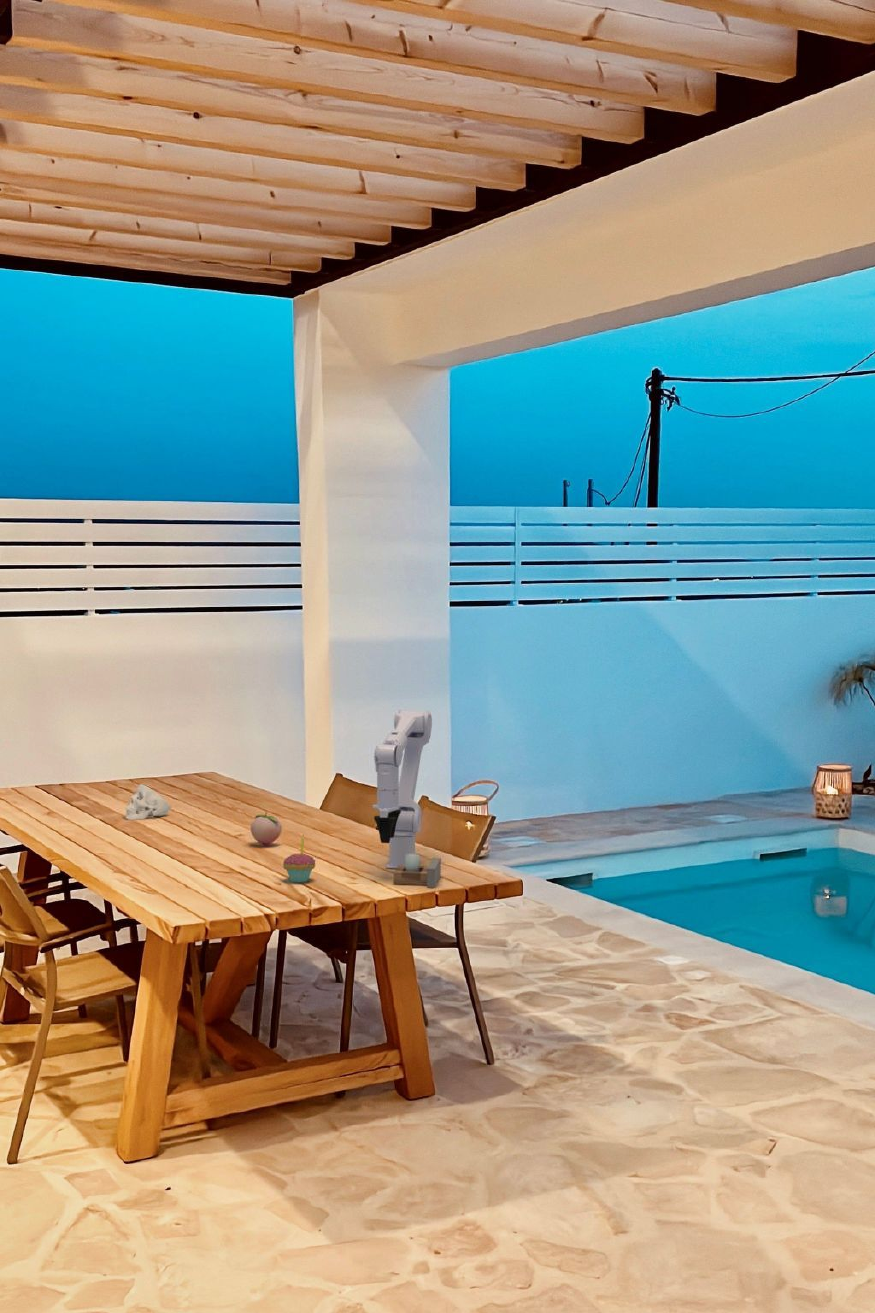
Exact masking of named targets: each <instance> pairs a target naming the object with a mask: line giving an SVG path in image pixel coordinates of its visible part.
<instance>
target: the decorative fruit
mask: <svg viewBox="0 0 875 1313" xmlns="http://www.w3.org/2000/svg"><path fill="white" fill-rule="evenodd" d="M282 830H283V829H282V824H281V822H280V820H278V819H277V818H276V817H275V816H273V815H268V816H267V812H265V814H257V815H255V817H254V820H253V821H252V822H251V825H250V832H251V835H252V837H253V839H254V840H255V841H256V842H258V843H260V844H262V845H264V846H268V845H271V844H272V843H273V842H275V841H276V840H277V839H278V838H279V837H280V836H281V834H282Z"/></svg>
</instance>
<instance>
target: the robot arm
mask: <svg viewBox="0 0 875 1313" xmlns="http://www.w3.org/2000/svg"><path fill="white" fill-rule="evenodd" d="M393 727H394V730H391V731H390V732H389V733H388V735H387V737H385V739H384V741H383V742H382V744H381V743H380V744H378V745H376V746H375V749H374V754H373V760H374V764H375V766H374V767H375V772H376V775H377V776H376V780H377V781H376V804H373V805H372V809H375V810H377V811H378V813H379V815H374V816H373V819H374V821H375V824H376V827H377V829H378V835H379V839H380V843H381V844H388V862H387V864H386V865H385V869H396V868H397V867H398V866H399V865H406V854H416V835H417V834H419V832H420V831H421V828H422V823H423V822H422V815H423V811H422V808H421V806H420V804H418V803H417V802H416V801H415V795H416V788H417V781H418V774H419V771H420V770H419V769H420V763H421V758H422V757H421V756H422V751H423V750H424V749H423V748H424V746H425V745H427V744H429V743H430V740H431V735H432V734H431V733H432V727H433V718H432V715H431V712H430V711H429V710H428V711H416V710H415V711H414V710H397V711H396V712H395V714H394V718H393ZM400 766H401V771H400V769H399V768H400ZM399 772H400V776H399Z"/></svg>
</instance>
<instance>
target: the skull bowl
mask: <svg viewBox="0 0 875 1313" xmlns="http://www.w3.org/2000/svg"><path fill="white" fill-rule="evenodd" d="M171 809H172V806H171V805H170V803H168V801H167V800H166V799H165V798H163V797H162V796H161V795H160V794H158V793H157V792H156V791H154V790H153V789H152V788H150V787H148V786H147V785H145V784H142V783H139V785H138V786H137V787H136V789H135V791H134V795H132V796H130V803H129V804H128V805H127V806H126V807H125V810H126V816H125V818H124V819H126V820H129V821H139V820H145V819H146V818H147V817H148V816H149V815H150V816H151V817H152V816H153V817H164V816H165V815H167V813H168V812H170V810H171ZM139 812H140V813H139Z"/></svg>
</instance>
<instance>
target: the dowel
mask: <svg viewBox="0 0 875 1313" xmlns="http://www.w3.org/2000/svg"><path fill="white" fill-rule="evenodd" d="M419 866H420V854H419V853H415V854H406V865H405V871H414V872H419Z"/></svg>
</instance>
